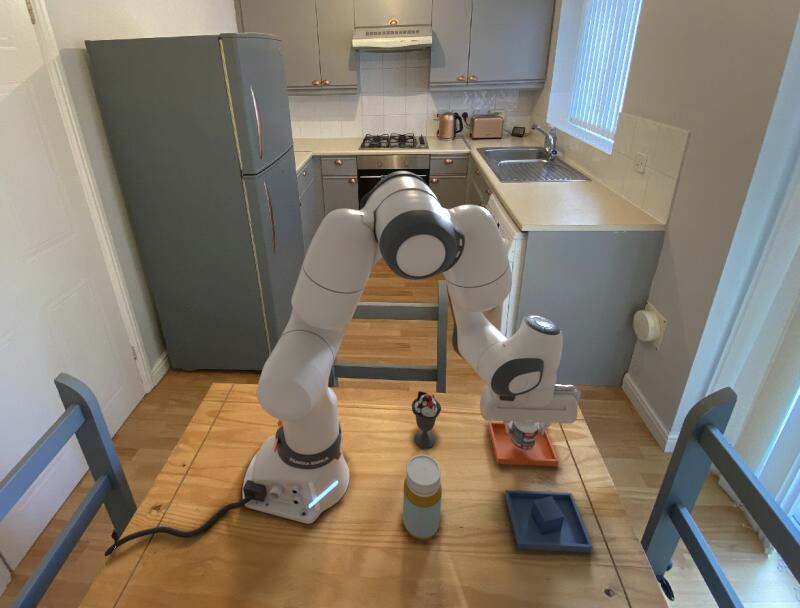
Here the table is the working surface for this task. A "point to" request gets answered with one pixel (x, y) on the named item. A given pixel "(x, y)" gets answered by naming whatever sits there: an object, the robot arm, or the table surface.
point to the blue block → (547, 515)
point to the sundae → (425, 418)
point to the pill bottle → (524, 435)
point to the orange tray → (511, 455)
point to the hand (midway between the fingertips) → (523, 431)
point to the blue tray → (529, 533)
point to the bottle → (422, 497)
